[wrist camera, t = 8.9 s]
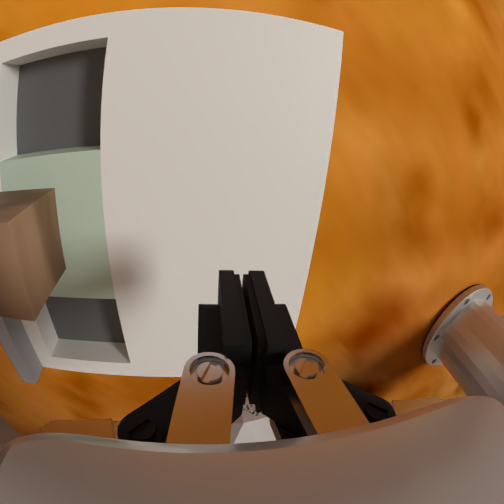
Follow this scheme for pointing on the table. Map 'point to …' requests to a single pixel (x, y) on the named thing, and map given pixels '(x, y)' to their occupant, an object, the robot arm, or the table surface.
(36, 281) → the block
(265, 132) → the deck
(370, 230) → the table surface
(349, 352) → the table surface
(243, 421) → the die
